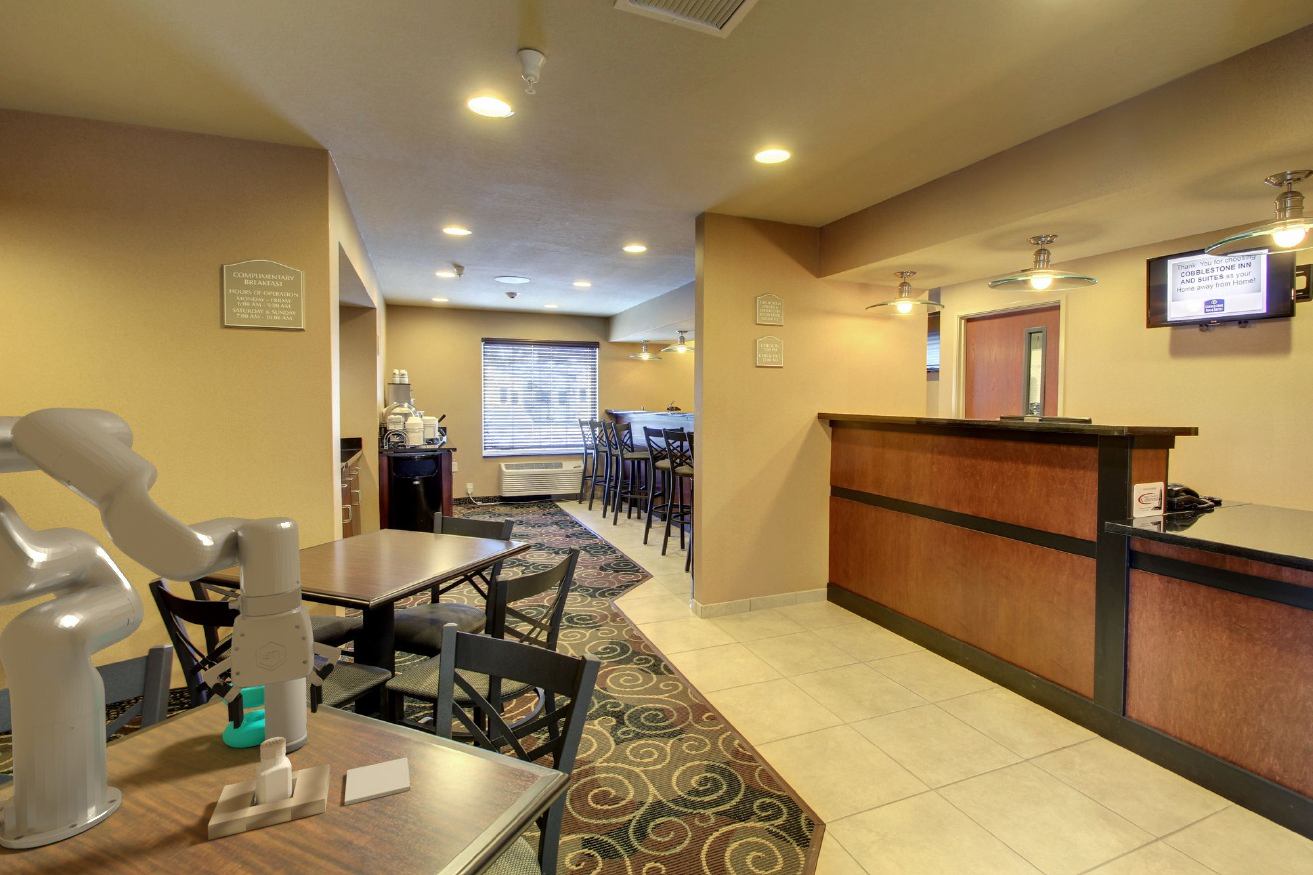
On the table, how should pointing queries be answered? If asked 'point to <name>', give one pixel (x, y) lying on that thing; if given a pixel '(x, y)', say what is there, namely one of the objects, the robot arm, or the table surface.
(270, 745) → the pepper shaker
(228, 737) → the donuts
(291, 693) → the travel mug
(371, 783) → the beige mat
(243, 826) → the socket block
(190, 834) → the table surface
